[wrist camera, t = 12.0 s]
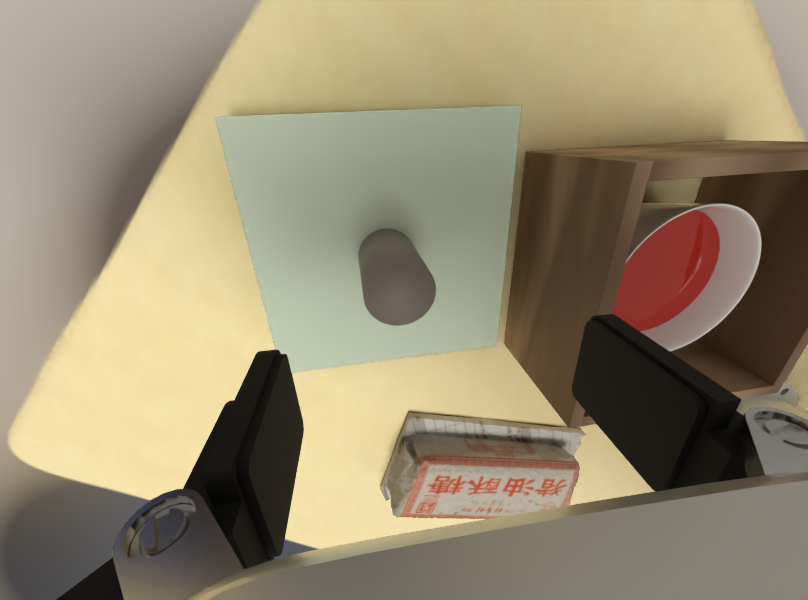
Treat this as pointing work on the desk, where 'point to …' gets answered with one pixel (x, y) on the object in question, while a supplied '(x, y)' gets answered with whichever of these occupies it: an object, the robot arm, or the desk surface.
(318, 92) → the desk surface
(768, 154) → the box
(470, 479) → the packaged product
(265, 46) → the desk surface
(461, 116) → the lid
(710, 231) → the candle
